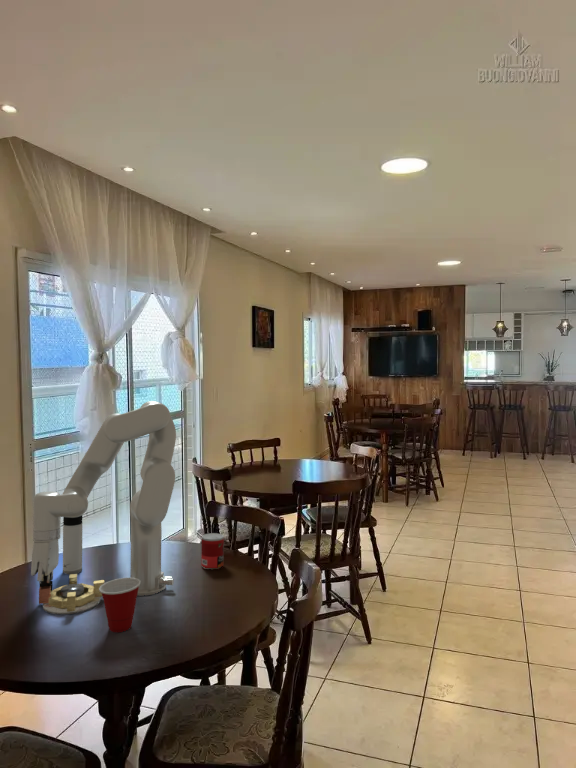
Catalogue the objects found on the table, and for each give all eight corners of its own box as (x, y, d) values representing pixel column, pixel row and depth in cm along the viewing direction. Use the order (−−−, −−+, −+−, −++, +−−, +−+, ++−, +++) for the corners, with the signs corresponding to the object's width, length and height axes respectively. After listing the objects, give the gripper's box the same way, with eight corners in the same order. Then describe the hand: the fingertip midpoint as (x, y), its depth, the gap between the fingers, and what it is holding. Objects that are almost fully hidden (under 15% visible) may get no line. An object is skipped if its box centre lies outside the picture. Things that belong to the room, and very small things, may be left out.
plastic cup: (107, 618, 151) (107, 575, 151) (145, 619, 151) (145, 576, 151) (91, 636, 141) (92, 590, 140) (133, 637, 140) (133, 591, 140)
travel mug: (63, 576, 183) (64, 517, 182) (61, 569, 188) (62, 512, 188) (83, 573, 185) (83, 515, 185) (80, 567, 191) (81, 511, 191)
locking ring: (73, 586, 171) (73, 572, 171) (107, 594, 165) (107, 580, 165) (35, 603, 158) (35, 588, 158) (70, 612, 152) (71, 597, 152)
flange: (109, 593, 169) (109, 579, 169) (86, 615, 153) (86, 600, 153) (57, 591, 170) (57, 577, 170) (30, 613, 154) (30, 597, 154)
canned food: (222, 570, 190) (222, 539, 190) (199, 570, 190) (199, 539, 190) (224, 563, 197) (225, 533, 197) (203, 562, 198) (203, 532, 197)
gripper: (43, 527, 168) (42, 585, 169) (23, 541, 154) (22, 605, 154) (67, 527, 169) (67, 585, 169) (50, 541, 154) (49, 605, 154)
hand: (45, 595), depth 161 cm, fingers closed
